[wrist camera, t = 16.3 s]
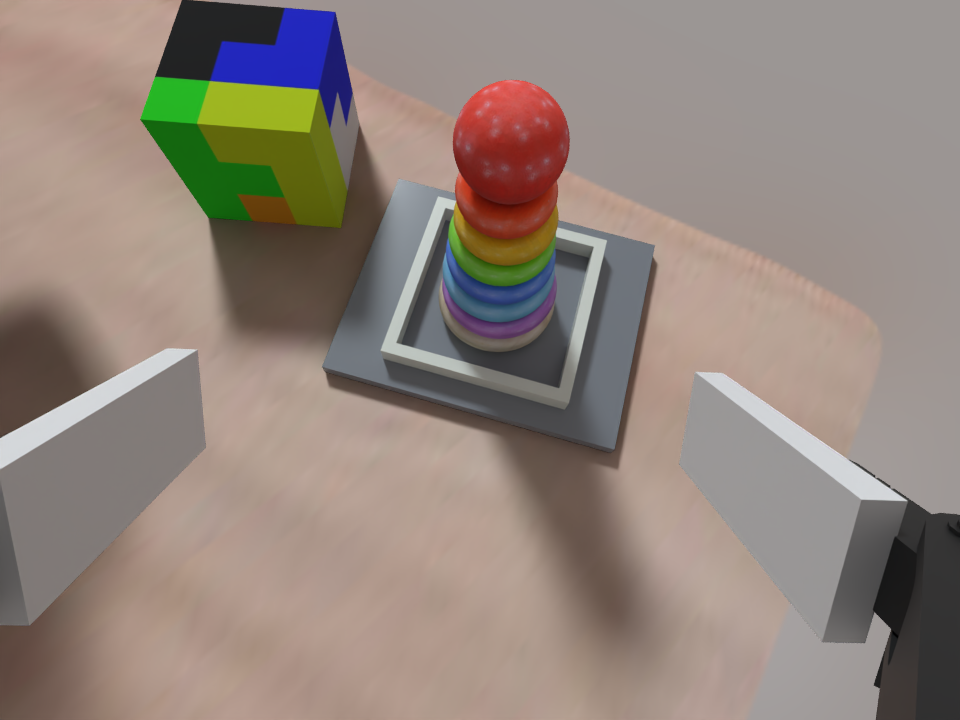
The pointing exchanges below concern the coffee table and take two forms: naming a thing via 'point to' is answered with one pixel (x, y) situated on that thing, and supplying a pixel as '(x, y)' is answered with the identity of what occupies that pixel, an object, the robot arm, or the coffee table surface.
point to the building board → (496, 375)
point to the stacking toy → (504, 217)
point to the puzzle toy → (257, 112)
